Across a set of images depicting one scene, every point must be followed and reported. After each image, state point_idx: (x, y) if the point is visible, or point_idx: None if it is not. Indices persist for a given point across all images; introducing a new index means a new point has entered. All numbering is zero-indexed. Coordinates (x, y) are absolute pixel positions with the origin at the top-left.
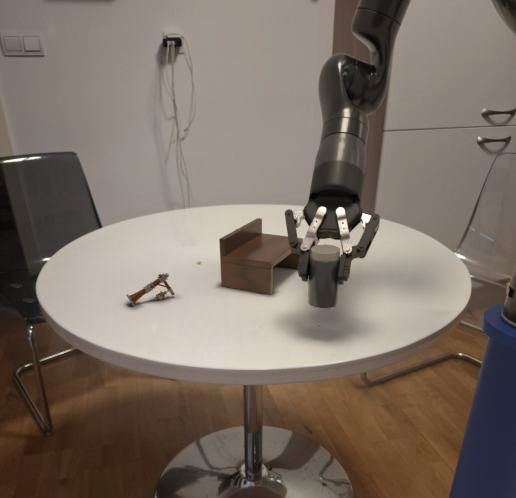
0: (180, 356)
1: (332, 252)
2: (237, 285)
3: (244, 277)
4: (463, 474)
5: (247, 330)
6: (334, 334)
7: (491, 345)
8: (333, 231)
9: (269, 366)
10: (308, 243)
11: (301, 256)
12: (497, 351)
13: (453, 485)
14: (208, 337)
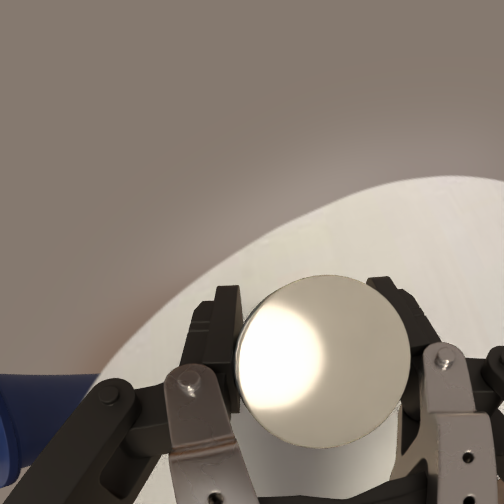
0: (478, 193)
1: (272, 303)
2: (500, 481)
3: (500, 491)
4: None
5: (441, 318)
6: None
7: (21, 421)
8: (309, 502)
9: (351, 198)
10: (438, 379)
11: (430, 336)
12: (17, 406)
13: None
14: (482, 264)
